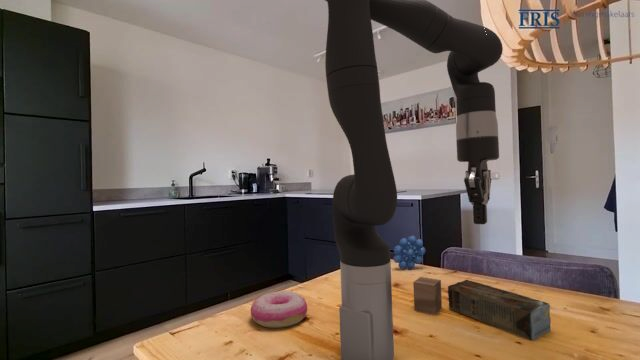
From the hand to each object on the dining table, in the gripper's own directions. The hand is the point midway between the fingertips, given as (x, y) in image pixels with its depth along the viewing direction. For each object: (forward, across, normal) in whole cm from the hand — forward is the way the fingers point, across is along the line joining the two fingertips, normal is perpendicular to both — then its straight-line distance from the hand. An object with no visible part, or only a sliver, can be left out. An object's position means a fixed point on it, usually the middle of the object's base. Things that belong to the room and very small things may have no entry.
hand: (480, 223), depth 63 cm
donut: (+23, -17, +41) cm, 50 cm away
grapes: (+23, +39, +32) cm, 56 cm away
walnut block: (+23, +7, +14) cm, 28 cm away
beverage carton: (+23, +10, 0) cm, 25 cm away
